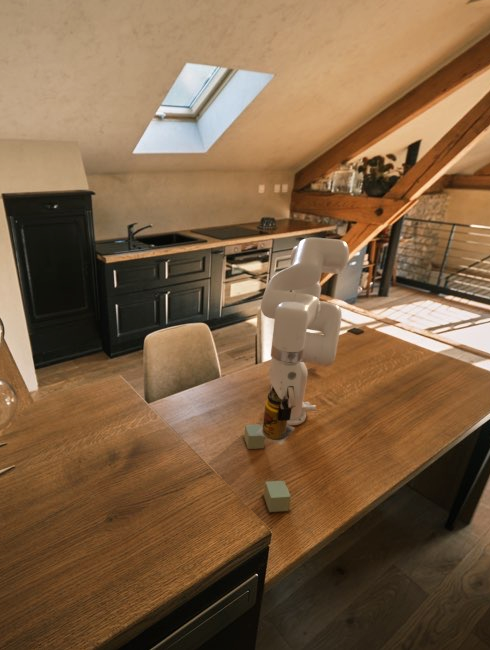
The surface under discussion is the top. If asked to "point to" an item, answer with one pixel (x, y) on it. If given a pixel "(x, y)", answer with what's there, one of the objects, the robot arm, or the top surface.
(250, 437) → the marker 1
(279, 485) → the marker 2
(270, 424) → the condiment
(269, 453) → the top surface
